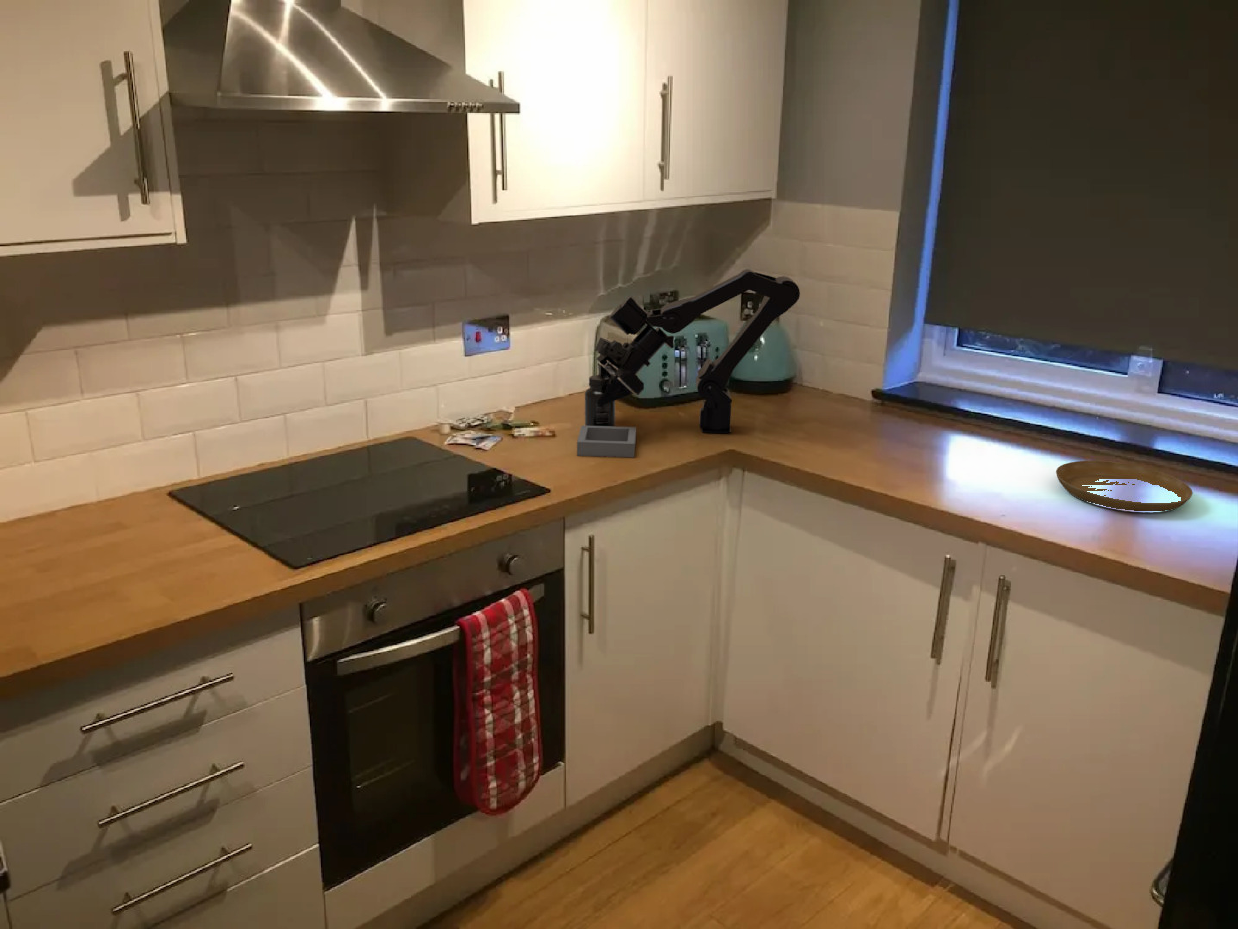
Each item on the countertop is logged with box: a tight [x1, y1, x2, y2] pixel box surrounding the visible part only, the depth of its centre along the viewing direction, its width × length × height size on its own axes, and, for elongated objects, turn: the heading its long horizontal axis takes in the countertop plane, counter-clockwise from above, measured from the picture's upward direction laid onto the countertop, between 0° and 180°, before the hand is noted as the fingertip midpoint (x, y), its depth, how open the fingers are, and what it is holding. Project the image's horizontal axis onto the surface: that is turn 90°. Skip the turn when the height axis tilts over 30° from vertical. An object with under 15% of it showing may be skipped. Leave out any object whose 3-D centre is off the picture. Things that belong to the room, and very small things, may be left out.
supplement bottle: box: [584, 374, 616, 427], centre depth 234 cm, size 7×7×12 cm
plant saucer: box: [1055, 460, 1194, 511], centre depth 203 cm, size 24×24×3 cm
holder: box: [576, 425, 637, 458], centre depth 225 cm, size 12×12×3 cm
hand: (594, 400), depth 234 cm, fingers closed on supplement bottle, 7 cm apart
